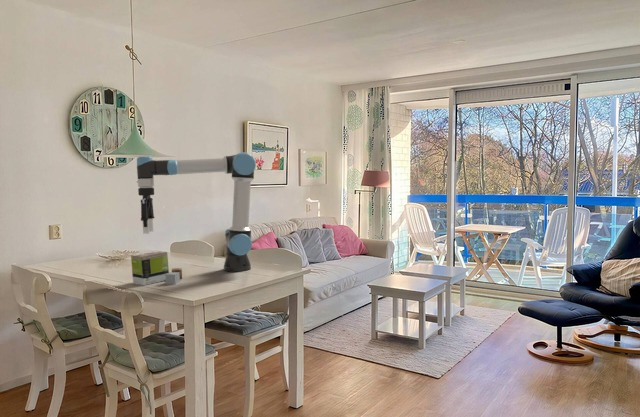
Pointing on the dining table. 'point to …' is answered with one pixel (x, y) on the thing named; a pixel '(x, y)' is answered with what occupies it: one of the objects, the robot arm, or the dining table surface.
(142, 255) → the tea box
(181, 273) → the walnut cube
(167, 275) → the slate-grey cube
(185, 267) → the dining table surface
